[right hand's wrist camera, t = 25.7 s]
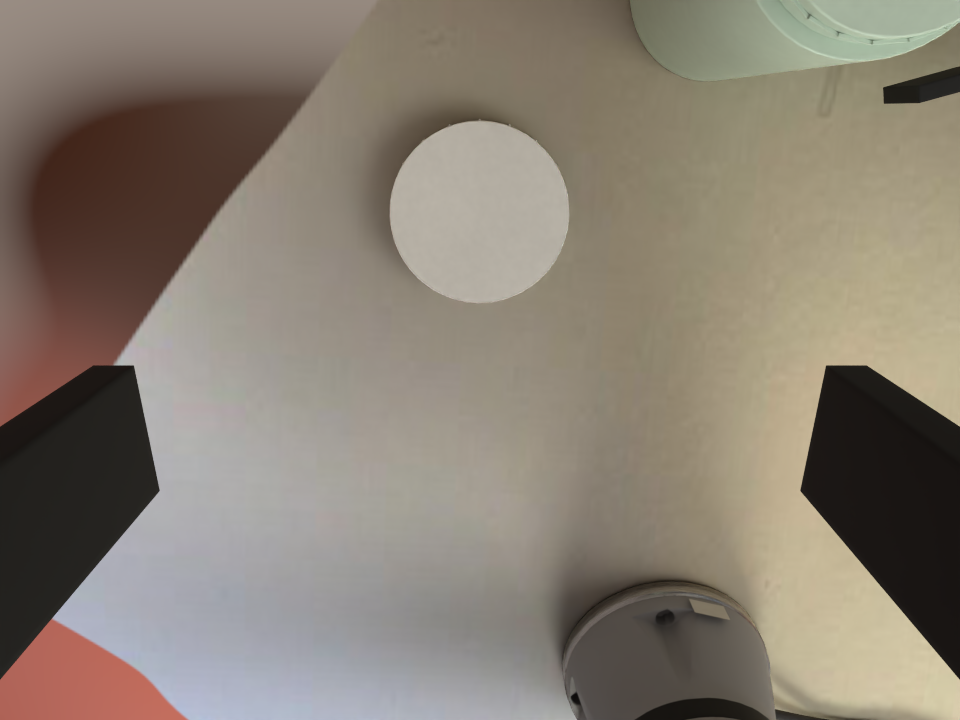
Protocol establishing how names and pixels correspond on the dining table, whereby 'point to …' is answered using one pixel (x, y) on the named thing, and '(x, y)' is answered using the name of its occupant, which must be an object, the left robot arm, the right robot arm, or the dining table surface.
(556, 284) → the dining table surface
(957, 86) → the left robot arm
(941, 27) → the jar
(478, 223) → the lid
